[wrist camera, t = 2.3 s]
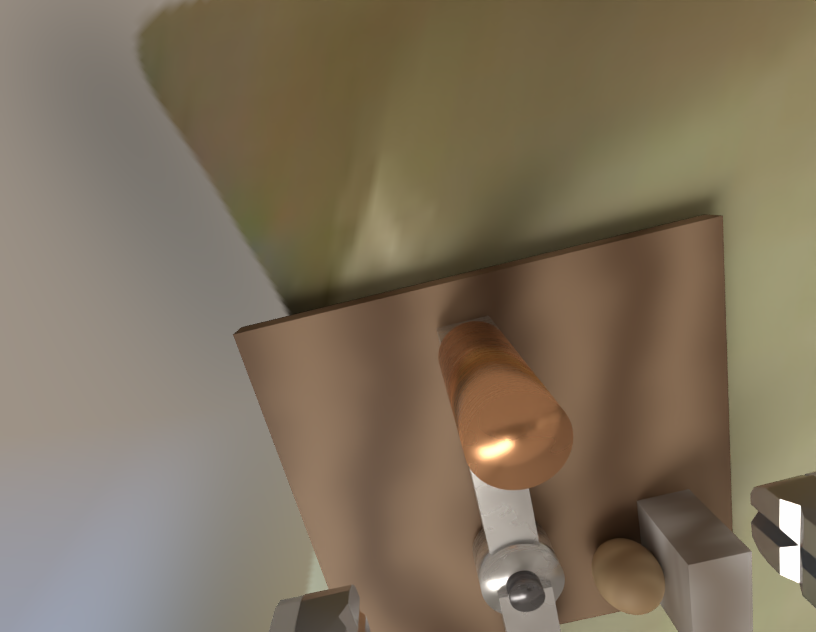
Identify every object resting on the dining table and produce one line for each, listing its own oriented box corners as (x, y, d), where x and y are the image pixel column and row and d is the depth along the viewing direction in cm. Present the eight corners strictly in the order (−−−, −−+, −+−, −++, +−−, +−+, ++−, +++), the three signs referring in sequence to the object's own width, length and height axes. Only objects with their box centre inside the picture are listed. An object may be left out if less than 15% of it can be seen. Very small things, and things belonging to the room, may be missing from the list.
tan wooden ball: (638, 517, 25) (678, 570, 21) (643, 565, 26) (682, 623, 22) (577, 531, 25) (607, 585, 21) (584, 578, 26) (614, 638, 22)
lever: (504, 299, 20) (586, 376, 12) (564, 629, 26) (648, 841, 18) (415, 320, 21) (432, 412, 12) (495, 644, 27) (544, 862, 18)
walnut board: (704, 214, 21) (810, 221, 16) (719, 570, 27) (799, 661, 22) (241, 327, 22) (192, 370, 17) (359, 648, 28) (352, 755, 23)
